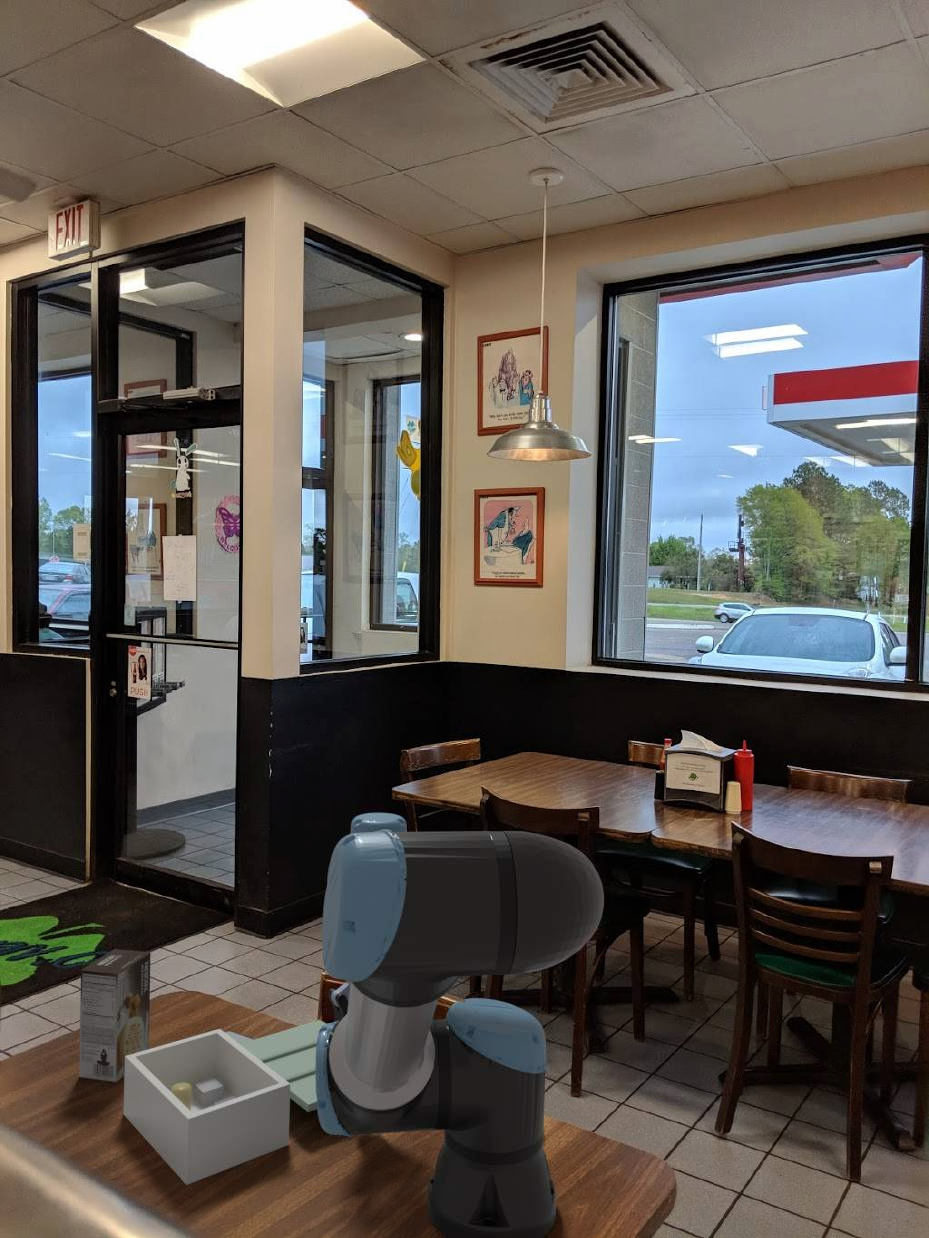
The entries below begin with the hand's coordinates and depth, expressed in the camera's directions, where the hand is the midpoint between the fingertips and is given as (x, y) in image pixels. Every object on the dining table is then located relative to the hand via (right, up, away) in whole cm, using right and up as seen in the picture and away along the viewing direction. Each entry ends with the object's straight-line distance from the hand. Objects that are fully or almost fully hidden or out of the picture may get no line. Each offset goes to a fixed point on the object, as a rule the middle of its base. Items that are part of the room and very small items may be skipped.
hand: (370, 1106), depth 128 cm
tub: (-22, -3, 0) cm, 22 cm away
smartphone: (-26, -3, +20) cm, 33 cm away
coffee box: (-40, -2, +16) cm, 43 cm away
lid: (-7, -1, +8) cm, 11 cm away
